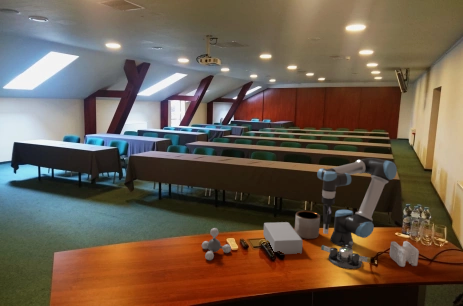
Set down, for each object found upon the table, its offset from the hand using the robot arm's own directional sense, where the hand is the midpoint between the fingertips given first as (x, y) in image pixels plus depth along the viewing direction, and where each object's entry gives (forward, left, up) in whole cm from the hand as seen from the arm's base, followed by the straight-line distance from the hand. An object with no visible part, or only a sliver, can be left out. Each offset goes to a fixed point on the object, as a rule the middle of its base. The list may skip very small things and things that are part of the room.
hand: (325, 233), depth 200 cm
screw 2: (+17, +13, -16) cm, 27 cm away
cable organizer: (+24, +43, -18) cm, 53 cm away
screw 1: (+2, +20, -16) cm, 26 cm away
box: (-29, -11, -18) cm, 36 cm away
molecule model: (-38, -60, -18) cm, 73 cm away
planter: (-34, +15, -18) cm, 41 cm away
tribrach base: (+7, +11, -18) cm, 22 cm away
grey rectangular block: (+1, +4, -16) cm, 16 cm away
